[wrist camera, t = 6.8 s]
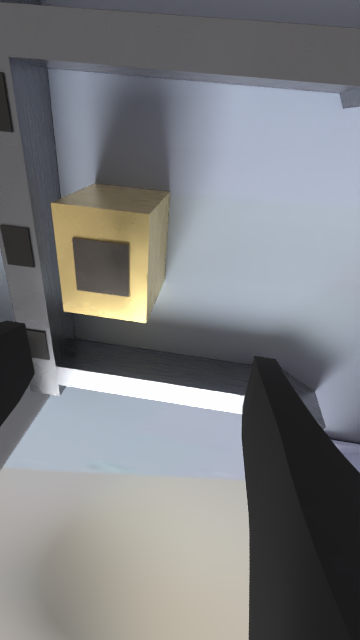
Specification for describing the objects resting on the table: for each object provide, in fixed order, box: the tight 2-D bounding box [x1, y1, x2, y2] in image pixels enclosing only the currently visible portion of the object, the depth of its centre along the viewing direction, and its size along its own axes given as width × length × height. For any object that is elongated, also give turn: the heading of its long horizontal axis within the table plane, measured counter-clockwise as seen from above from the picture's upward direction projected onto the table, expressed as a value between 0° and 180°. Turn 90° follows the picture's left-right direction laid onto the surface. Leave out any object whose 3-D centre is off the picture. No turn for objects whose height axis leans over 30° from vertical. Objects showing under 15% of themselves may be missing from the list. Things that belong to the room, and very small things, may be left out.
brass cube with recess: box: [51, 183, 170, 323], centre depth 16 cm, size 5×4×5 cm
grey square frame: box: [0, 0, 360, 429], centre depth 17 cm, size 20×19×3 cm
